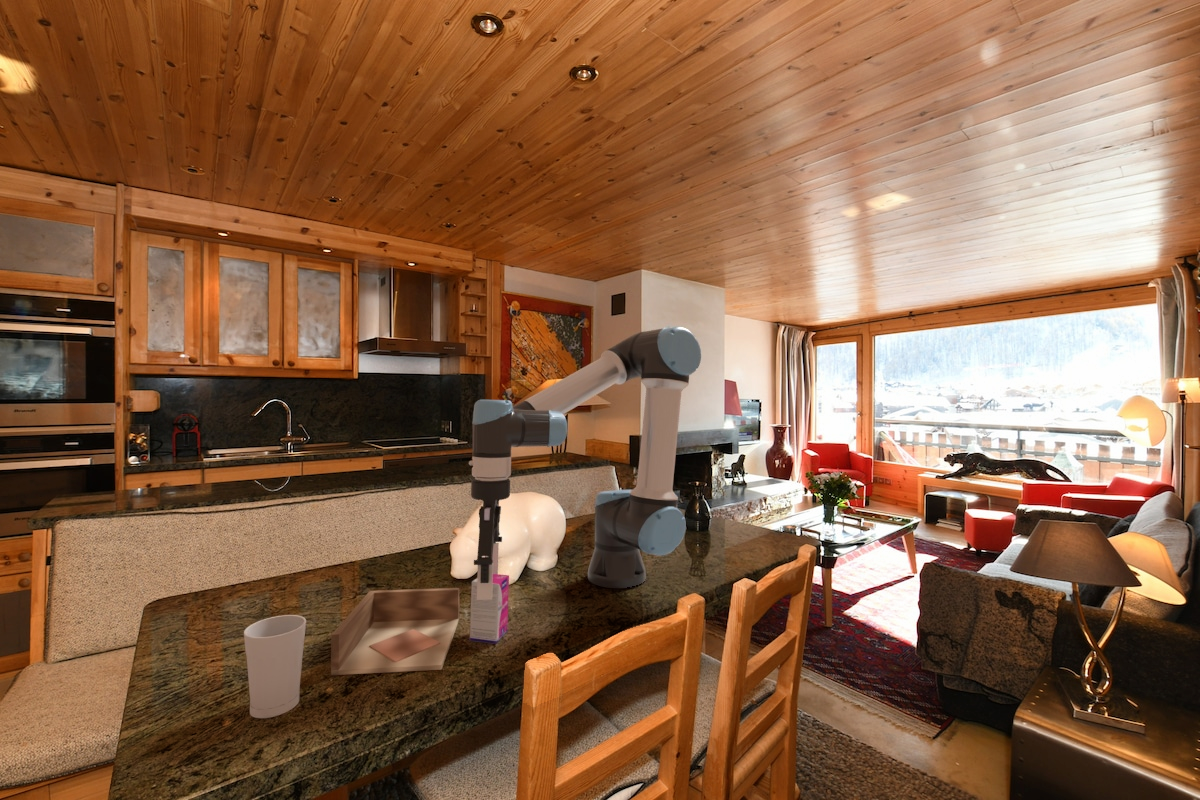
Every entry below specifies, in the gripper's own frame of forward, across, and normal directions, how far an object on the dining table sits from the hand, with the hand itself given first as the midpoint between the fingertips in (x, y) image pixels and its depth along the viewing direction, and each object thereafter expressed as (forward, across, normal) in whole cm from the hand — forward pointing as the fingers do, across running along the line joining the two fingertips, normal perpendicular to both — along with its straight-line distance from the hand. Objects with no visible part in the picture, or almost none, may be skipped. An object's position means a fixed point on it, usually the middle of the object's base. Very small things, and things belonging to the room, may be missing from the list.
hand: (488, 586), depth 101 cm
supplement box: (+10, 0, 0) cm, 10 cm away
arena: (+10, +2, -16) cm, 19 cm away
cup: (+11, +20, -30) cm, 37 cm away
